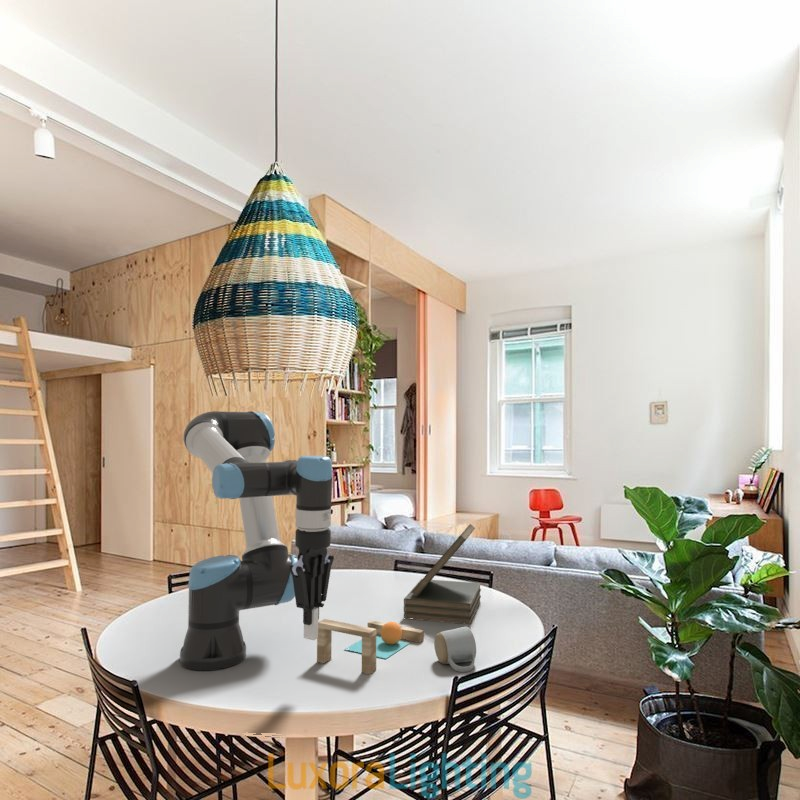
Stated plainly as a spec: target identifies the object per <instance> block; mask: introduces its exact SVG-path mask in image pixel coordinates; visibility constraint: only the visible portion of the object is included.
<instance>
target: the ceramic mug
mask: <svg viewBox="0 0 800 800" xmlns="http://www.w3.org/2000/svg"><path fill="white" fill-rule="evenodd" d="M434 651H435V655H436V658H437V660H438V662H440V663H441V664H442V665H449V666H450V667H451V668H452V669H453V670H454V671H456V672H460V673H468V672H471V671H472V670H473V669H474V666H475V661H476V660H475V659H476V656H477V642H476V639H475V636H474V633H473V632H472V630H471V628H470V627H468V626H461V627H456V628H453V629H447V630H443V631H440V632H439V633H436V635H435V637H434ZM467 662H471V664H470V665H469V666H468V665H467V666H462V665H461V666H460V665H458V664H459V663H460V664H461V663H467Z"/></svg>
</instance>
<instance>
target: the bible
mask: <svg viewBox="0 0 800 800" xmlns="http://www.w3.org/2000/svg"><path fill="white" fill-rule="evenodd" d="M475 529H476V528H475V527H474V526H473V524H471V523H469V525H467V527H466V528H465V529H464V530H463V532H462V533H461V534H459V536H458V537H457V539H455V540H454V542H453V543H452V544H451V546H450V547H448V549H447V550H446V551H445V552H444V553H443V555H441V557H440V558H439V559H438V560H437V562H436V563H435V564H434V565H433V566H432V567H431V568H430V570H429V571H428V572H427V573H426V574H425V576H423V578H421V579H420V580H419V581H418V582H417V583H416V584H415V586H414V587H412V589H411V590H410V591H409V593H407V595H406V596H405V597H404V598H403V619H404V618H413V619H412V620H416V619H423V620H422V621H428V620H432V621H431V622H439V621H444V622H443V623H451V622H454V623H453V624H463V623H465V624H464V625H471V623H472V621H473V620H474V617H475V615H474V614H476V612H477V610H478V608H479V606H480V603H481V597H482V596H481V591H482V588H481V585H482V583H481V582H469V581H456V580H454V581H453V580H443V579H434V577H436V575H437V574H438V573H439V572H440V571H441V570H442V568H444V566H445V565H446V564H447V562H449V561H450V559H451V558H452V557H453V556H454V554H455V553H456V552H458V550H459V549H460V547H461V546H462V545H463V544H464V543H465V542H466V541H467V539H468V538H469V536H471V534H472V533H473V532H474V531H475Z"/></svg>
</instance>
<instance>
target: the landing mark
mask: <svg viewBox="0 0 800 800" xmlns="http://www.w3.org/2000/svg"><path fill="white" fill-rule="evenodd" d="M409 643H410V642H408V641H403V640H400V641H399V642H398V643H396V644H394V645H389V644H386V643H385V642H384V641H383V640H382V638H381V636H378V635H376V658H378V659H382V658H383V660H387V659H389V658H391V656H393V655H395V654H396V653H398V652H400V650H403V649H404V648H405V647H407V646H408V645H410V644H409ZM348 648H349V650H350V651H349V652H351V651H354V652H353V653H355V652H358V653H357V654H360V653H362V638H361V639H360V640H358V641H356V642H355V643H353V644H351V645H349V646H348ZM348 648H347V647H345V648H344V649H345V650H344V651H346V649H348Z"/></svg>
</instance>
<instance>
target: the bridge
mask: <svg viewBox="0 0 800 800" xmlns="http://www.w3.org/2000/svg"><path fill="white" fill-rule="evenodd" d="M332 631H333V632H335V633H336V632H337V633H342V634H346V635H352V636H356V637H361V639H362V654H361V673H362V672H363V673H362V674H365V673H367V674H366V675H371V674H372V673H374V672H375V671H377V657H376V636H377V634H376V629H374V628H369V627H368V626H363V625H359V624H353V623H352V624H351V623H348V622H343V621H338V620H331V619H326V618H324V619H321V620H320V621H319V620H318V638H317V639H316V663H319V662H321V663H320V664H323V663H324V664H326V663H327V661H328V662H329V661H331V660H332V635H333V634H332V633H333V632H332ZM330 659H331V660H330ZM325 662H326V663H325ZM373 671H374V672H373Z"/></svg>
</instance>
